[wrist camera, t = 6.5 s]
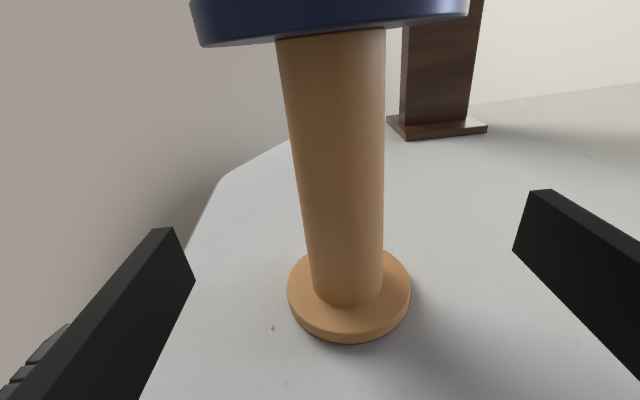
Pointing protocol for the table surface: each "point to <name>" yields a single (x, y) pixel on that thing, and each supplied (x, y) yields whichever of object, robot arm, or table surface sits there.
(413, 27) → the wooden stand
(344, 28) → the round pedestal table
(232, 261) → the table surface
